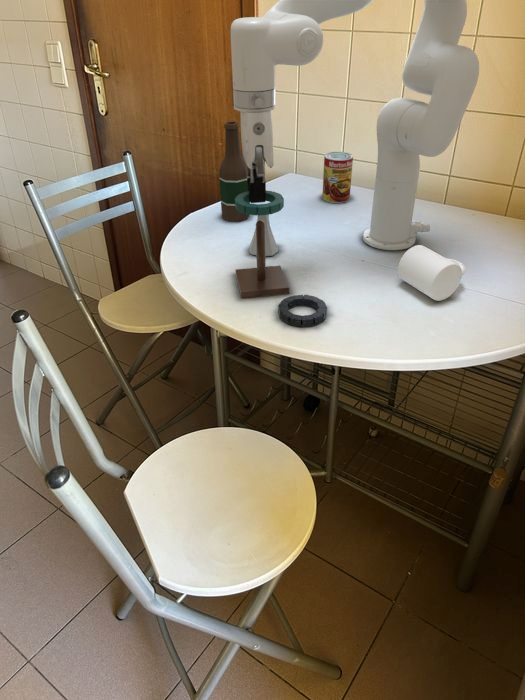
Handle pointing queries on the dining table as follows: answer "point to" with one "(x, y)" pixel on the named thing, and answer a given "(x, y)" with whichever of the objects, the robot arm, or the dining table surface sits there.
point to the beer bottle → (232, 174)
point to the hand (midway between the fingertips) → (256, 199)
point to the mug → (430, 272)
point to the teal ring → (259, 209)
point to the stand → (261, 273)
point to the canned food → (337, 177)
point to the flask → (269, 239)
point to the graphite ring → (306, 319)
